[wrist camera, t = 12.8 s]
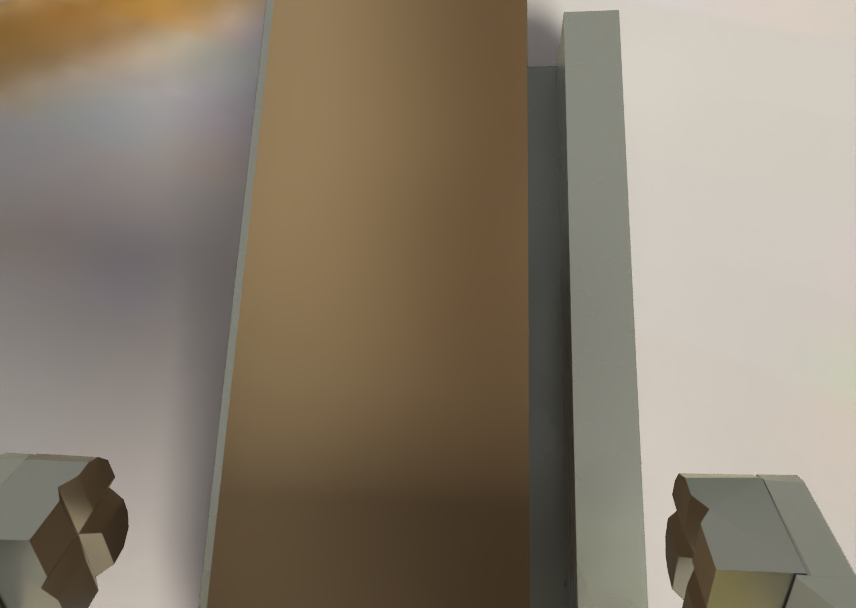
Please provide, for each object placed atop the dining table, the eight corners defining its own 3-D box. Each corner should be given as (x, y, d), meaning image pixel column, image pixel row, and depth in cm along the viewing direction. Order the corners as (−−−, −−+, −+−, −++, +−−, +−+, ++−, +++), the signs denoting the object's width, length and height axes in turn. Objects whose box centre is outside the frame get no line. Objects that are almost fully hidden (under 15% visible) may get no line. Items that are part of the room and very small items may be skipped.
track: (258, 760, 18) (169, 860, 13) (316, 91, 23) (268, -14, 18) (628, 789, 17) (679, 909, 12) (600, 83, 22) (628, -30, 17)
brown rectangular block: (359, 579, 18) (198, 683, 8) (379, 225, 20) (274, -9, 11) (512, 587, 17) (531, 706, 8) (513, 224, 20) (526, -21, 10)
